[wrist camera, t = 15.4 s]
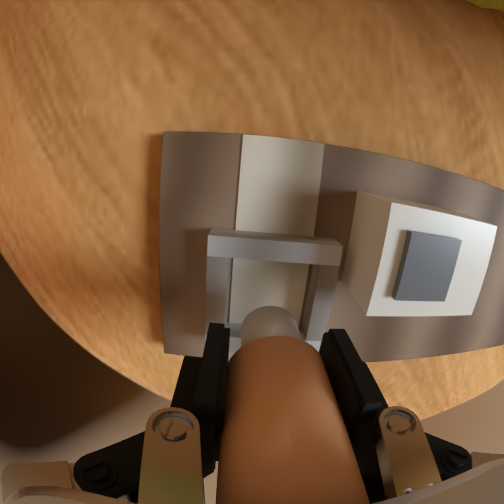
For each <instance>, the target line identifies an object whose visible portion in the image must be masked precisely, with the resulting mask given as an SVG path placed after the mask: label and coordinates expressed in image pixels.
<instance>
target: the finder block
mask: <svg viewBox="0 0 504 504" xmlns="http://www.w3.org/2000/svg"><path fill="white" fill-rule="evenodd" d="M496 230H497V226H496V225H493V224H490V223H488V222H485V221H482V220H480V219H477V218H474V217H471V216H468V215H465V214H463V213H460V212H457V211H453V210H449V209H445V208H440V207H436V206H432V205H427V204H422V203H418V202H413V201H408V200H403V199H398V198H393V197H388V196H382V195H377V194H371V193H365V192H360V191H357V197H356V203H355V210H354V216H353V222H352V228H351V234H350V239H349V245H348V250H347V255H346V260H345V265H344V270H343V275H342V279H341V281H342V283H343V284H344V285H345V287H346V288H347V290H348V291H349V292H350V294H351V295H352V297H353V298H354V299H355V301H356V302H357V304H358V305H359V307H360V308H361V309H362V311H363V312H364V314H365V315H366V316H461V315H472V313H473V310H474V307H475V304H476V302H477V299H478V296H479V293H480V290H481V287H482V284H483V280H484V277H485V274H486V270H487V267H488V263H489V260H490V256H491V252H492V248H493V244H494V240H495V235H496Z"/></svg>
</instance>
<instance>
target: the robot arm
mask: <svg viewBox="0 0 504 504" xmlns="http://www.w3.org/2000/svg"><path fill="white" fill-rule="evenodd" d="M229 344H230V328H225V324H222V323H209V327H208V332H207V337H206V342H205V347H204V352H203V356H202V357H195V356H185V357H184V360H183V363H182V367H181V370H180V374H179V377H178V381H177V384H176V388H175V392H174V395H173V399H172V403H171V406H170V407H169V408H163V409H159V410H157V411H156V412H154V413H152V415H151V416H150V417H149V418H148V421H147V423H146V430H145V431H144V432H141V433H139V434H137V435H135V436H132V437H130V438H128V439H125V440H123V441H120V442H118V443H115V444H113V445H110V446H108V447H105V448H103V449H100V450H98V451H95V452H92V453H89V454H86V455H85V456H83V457H81V458H80V459H79V460H78V461H77V462H76V463H68V462H67V461H53V462H15V463H10V464H8V465H7V466H5V468H4V469H3V471H2V476H1V481H2V496H3V504H205V496H204V482H203V478H205V477H206V476H208V475H210V474H211V473H213V472H214V469H215V463H216V461H219V448H220V437H221V434H222V431H223V425H224V410H225V397H226V383H227V370H228V361H229ZM319 354H320V356H321V357H322V360H323V363H324V366H325V369H326V371H327V374H328V377H329V380H330V383H331V386H332V389H333V392H334V394H335V397H336V400H337V403H338V406H339V409H340V412H341V415H342V418H343V421H344V424H345V427H346V430H347V433H348V436H349V439H350V442H351V445H352V448H353V451H354V454H355V458H356V461H357V464H358V467H359V470H360V473H361V476H362V480H363V483H364V486H365V489H366V493H367V496H368V499H369V503H370V504H504V454H490V453H478V452H472V453H471V454H469V452H468V451H467V450H466V449H464V448H462V447H461V446H458V445H455V444H453V443H450V442H448V441H445V440H443V439H440V438H437V437H435V436H433V435H430V434H428V433H425V432H424V430H423V428H422V425H421V422H420V420H419V418H418V416H417V415H416V414H415V413H414V412H413V411H411V410H409V409H408V408H405V407H401V406H393V407H388V405H387V403H386V401H385V399H384V397H383V395H382V393H381V391H380V389H379V387H378V385H377V383H376V381H375V379H374V378H373V376H372V374H371V372H370V370H369V368H368V366H367V364H366V363H365V362H363V361H362V360H361V358H360V356H359V354H358V352H357V350H356V349H355V347H354V345H353V343H352V341H351V339H350V337H349V336H348V334H347V332H346V330H345V329H329V331H328V332H325V333H324V334H323V337H322V341H321V345H320V349H319Z"/></svg>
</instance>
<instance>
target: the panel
mask: <svg viewBox="0 0 504 504" xmlns="http://www.w3.org/2000/svg"><path fill="white" fill-rule="evenodd" d="M357 191H360V192H365V193H371V194H377V195H382V196H388V197H393V198H398V199H403V200H408V201H413V202H418V203H422V204H427V205H432V206H436V207H440V208H445V209H449V210H453V211H457V212H460V213H463V214H465V215H468V216H471V217H474V218H477V219H480V220H482V221H485V222H488V223H490V224H493V225H496V226H497V230H496V235H495V240H494V244H493V248H492V252H491V256H490V260H489V263H488V267H487V270H486V274H485V277H484V280H483V284H482V287H481V290H480V293H479V296H478V299H477V302H476V304H475V307H474V310H473V313H472V315H461V316H366V315H365V314H364V312H363V311H362V309H361V308H360V307H359V305H358V304H357V302H356V301H355V299H354V298H353V297H352V295H351V294H350V292H349V291H348V290H347V288H346V287H345V285H344V284H343V283H342V281H341V279H342V275H343V270H344V265H345V260H346V255H347V250H348V245H349V239H350V234H351V228H352V222H353V216H354V210H355V203H356V197H357ZM159 271H160V298H161V316H162V331H163V343H164V353H168V354H176V355H184V356H195V357H202V356H203V352H204V347H205V342H206V337H207V332H208V327H209V323H222V324H225V328H230V344H229V360H230V358H231V357H232V356H233V354H234V353H235V352H236V351H237V350H239V349H240V348H241V327H242V323H243V321H244V319H245V318H246V316H247V315H248V314H249V313H250V312H252V311H253V310H255V309H257V308H260V307H263V306H278V307H281V308H284V309H286V310H287V311H289V312H290V313H291V314H292V315H293V317H294V318H295V320H296V323H297V327H298V330H299V333H300V337H301V340H303V341H305V342H307V343H309V344H310V345H312V346H313V347H314V348H315V349H316V350H317V351H318V352H319V349H320V345H321V341H322V337H323V334H324V333H325V332H328V331H329V329H345V330H346V332H347V334H348V336H349V337H350V339H351V341H352V343H353V345H354V347H355V349H356V350H357V352H358V354H359V356H360V358H361V360H362V361H363V362H378V361H392V360H404V359H415V358H424V357H433V356H441V355H448V354H455V353H461V352H468V351H474V350H479V349H485V348H490V347H495V346H500V345H503V344H504V190H501V189H498V188H496V187H493V186H490V185H488V184H485V183H482V182H479V181H476V180H473V179H470V178H467V177H464V176H461V175H458V174H455V173H451V172H448V171H445V170H441V169H438V168H434V167H431V166H427V165H423V164H419V163H416V162H412V161H408V160H404V159H399V158H395V157H391V156H386V155H382V154H377V153H372V152H368V151H363V150H357V149H352V148H347V147H341V146H335V145H329V144H324V143H317V142H310V141H303V140H295V139H287V138H278V137H269V136H258V135H246V134H229V133H209V132H163V145H162V159H161V177H160V204H159Z"/></svg>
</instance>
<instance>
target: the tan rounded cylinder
mask: <svg viewBox="0 0 504 504" xmlns="http://www.w3.org/2000/svg"><path fill="white" fill-rule="evenodd" d="M216 504H370V503H369V499H368V496H367V493H366V489H365V486H364V483H363V480H362V476H361V473H360V470H359V467H358V464H357V461H356V458H355V454H354V451H353V448H352V445H351V442H350V439H349V436H348V433H347V430H346V427H345V424H344V421H343V418H342V415H341V412H340V409H339V406H338V403H337V400H336V397H335V394H334V392H333V389H332V386H331V383H330V380H329V377H328V374H327V371H326V369H325V366H324V363H323V360H322V357H321V356H320V354H319V352H318V351H317V350H316V349H315V348H314V347H313V346H312V345H310V344H309V343H307V342H305V341H303V340H301V337H300V333H299V330H298V327H297V323H296V320H295V318H294V317H293V315H292V314H291V313H290V312H289V311H287V310H286V309H284V308H281V307H278V306H263V307H260V308H257V309H255V310H253V311H252V312H250V313H249V314H248V315H247V316H246V318H245V319H244V321H243V323H242V327H241V348H240V349H239V350H237V351H236V352H235V353H234V354H233V356H232V357H231V358H230V360H229V362H228V370H227V383H226V397H225V410H224V425H223V431H222V434H221V437H220V448H219V462H218V476H217V492H216Z"/></svg>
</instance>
